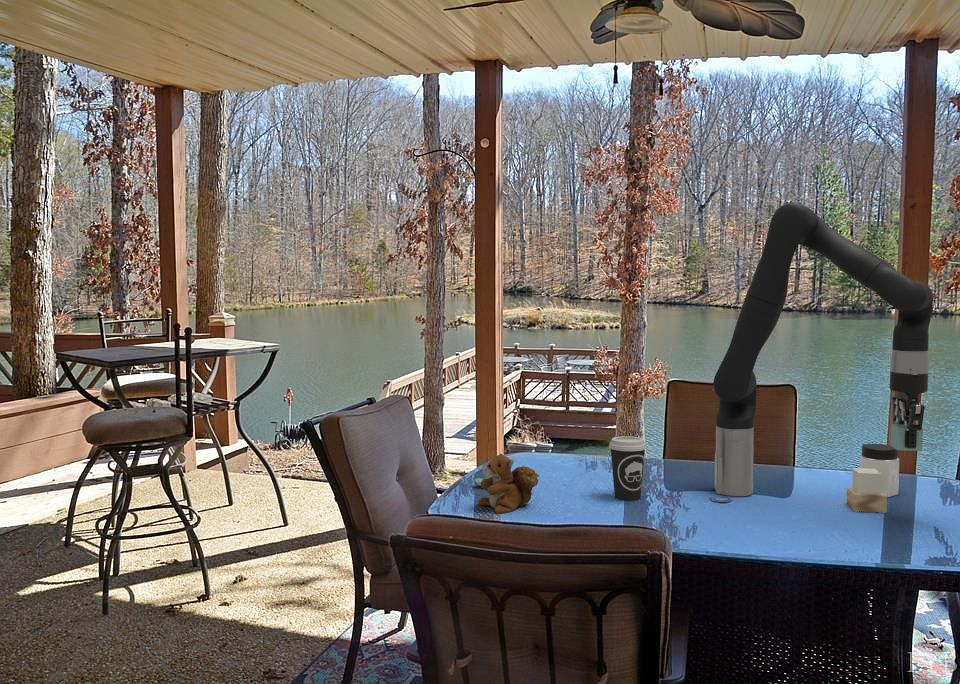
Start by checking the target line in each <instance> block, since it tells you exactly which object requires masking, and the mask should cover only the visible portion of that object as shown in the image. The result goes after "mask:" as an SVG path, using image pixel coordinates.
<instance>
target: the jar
mask: <svg viewBox="0 0 960 684" xmlns="http://www.w3.org/2000/svg"><path fill="white" fill-rule="evenodd" d="M890 445H891V444H884V443H883V444H882V443H866V444H864V443H863V444H862V445H861V454H860V455H859V468H861V469H876V470H877V471H878V472H880V473H881V474H882V478H881V492H883V493H884V494H885V495H886V496H887V498H890V497H895V496H898V495H899V491H900V490H899V483H900V482H899V479H900V458H899V457H898V455H899V452H898V451H899V450H897V449H895V448H894V447H892V446H890Z"/></svg>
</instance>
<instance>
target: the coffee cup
mask: <svg viewBox="0 0 960 684" xmlns="http://www.w3.org/2000/svg"><path fill="white" fill-rule="evenodd" d="M644 440H645V439H644V438H642V437H638V436H633V435H632V436H631V435H623V436H614V437H612V438H611V441H610V442H609V443H608V449H610V454H611V455H610V457H611V469H612V479H613V480H612V481H613V492H614V493H613V494H614V498H615V499H617V500H619V501H624V502H625V501H627V502H631V501H634V502H635V501H637V500H638V501H639V500H640V499H641V497H642V485H643V478H644V477H643V475H644V464H645V454H646V450H647V448H648V446H647V444H646V443H645V441H644Z"/></svg>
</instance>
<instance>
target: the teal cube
mask: <svg viewBox="0 0 960 684" xmlns="http://www.w3.org/2000/svg"><path fill="white" fill-rule="evenodd" d="M890 426H891V427H890V444H889V445H890V446H892V447H894V448H895V449H897V450H898V451H908V452H910V451H911V452H912V451H916V452H923V441H924V440H923V437H924V436H923V435H924V428H923V427H922V430H919V431H918V432H917V442H916V448H906V447H905V424H895V423H891V424H890Z"/></svg>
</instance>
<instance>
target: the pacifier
mask: <svg viewBox="0 0 960 684" xmlns="http://www.w3.org/2000/svg"><path fill="white" fill-rule="evenodd" d="M486 466H487V465H485V466H484V467H483V470H482V473H483V475H484V478H480V477H479V478H475V483H476V484H477V485H478V486H480V487H481V481H482V480H483V479H488V478H491V477H493V475H491V474H490V473H489V471H488V469H487V467H486ZM485 468H486V469H487V471H486V470H484V469H485ZM485 471H486V473H485ZM486 490H488V488H487V489H486Z"/></svg>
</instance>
